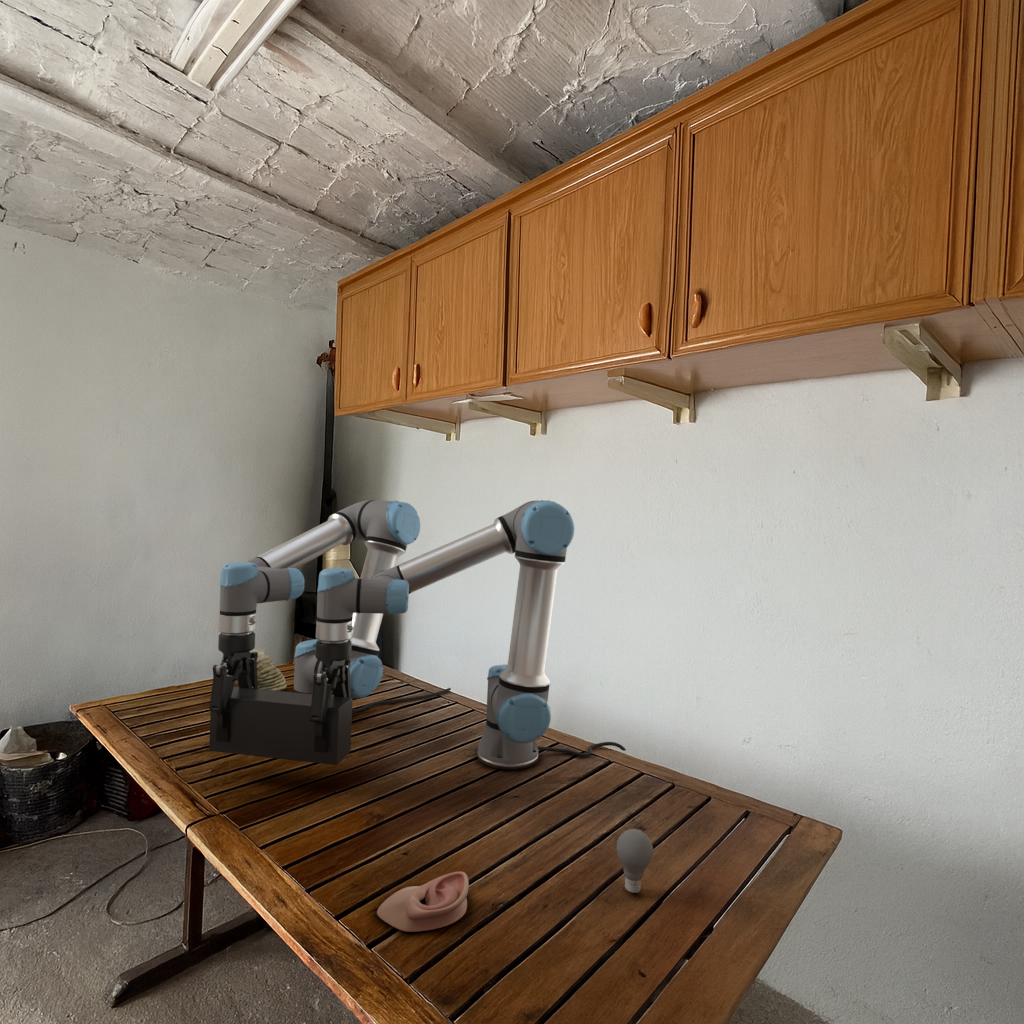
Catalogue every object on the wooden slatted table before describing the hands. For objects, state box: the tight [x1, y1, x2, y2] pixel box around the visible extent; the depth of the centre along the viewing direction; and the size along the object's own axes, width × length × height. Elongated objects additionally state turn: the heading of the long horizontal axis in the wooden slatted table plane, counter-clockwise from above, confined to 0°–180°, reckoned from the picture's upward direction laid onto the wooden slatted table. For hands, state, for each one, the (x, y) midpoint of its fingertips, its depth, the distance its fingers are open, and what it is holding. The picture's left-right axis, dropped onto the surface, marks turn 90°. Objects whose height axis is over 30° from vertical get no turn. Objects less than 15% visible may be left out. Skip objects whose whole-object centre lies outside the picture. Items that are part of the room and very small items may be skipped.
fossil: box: [227, 647, 288, 692], centre depth 198 cm, size 9×18×15 cm, turn 132°
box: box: [208, 687, 354, 766], centre depth 140 cm, size 30×7×12 cm, turn 81°
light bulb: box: [615, 828, 654, 894], centre depth 106 cm, size 6×6×10 cm
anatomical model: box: [376, 871, 470, 933], centre depth 99 cm, size 13×4×12 cm
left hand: (233, 734), depth 141 cm, fingers closed on box, 7 cm apart
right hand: (329, 743), depth 138 cm, fingers open, 8 cm apart
